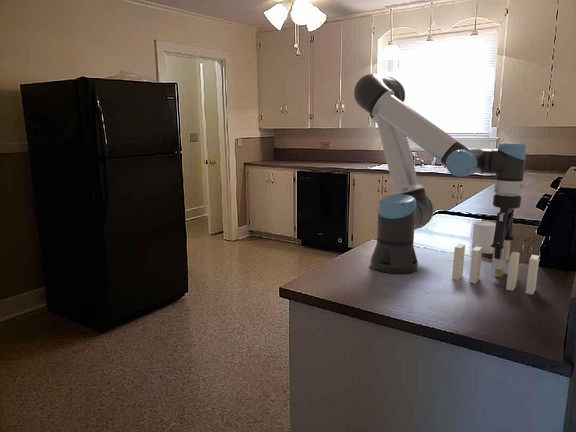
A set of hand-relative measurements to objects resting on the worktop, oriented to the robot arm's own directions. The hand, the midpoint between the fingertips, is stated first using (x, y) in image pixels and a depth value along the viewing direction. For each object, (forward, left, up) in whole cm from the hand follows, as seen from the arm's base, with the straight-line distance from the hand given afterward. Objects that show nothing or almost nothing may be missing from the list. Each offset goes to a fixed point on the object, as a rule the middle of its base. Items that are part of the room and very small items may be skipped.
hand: (500, 264), depth 136 cm
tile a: (-15, 0, -4) cm, 15 cm away
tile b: (-11, -4, -4) cm, 12 cm away
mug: (+13, +25, -4) cm, 28 cm away
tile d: (0, -15, -4) cm, 15 cm away
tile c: (-4, -11, -4) cm, 12 cm away
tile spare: (0, 0, -4) cm, 4 cm away
